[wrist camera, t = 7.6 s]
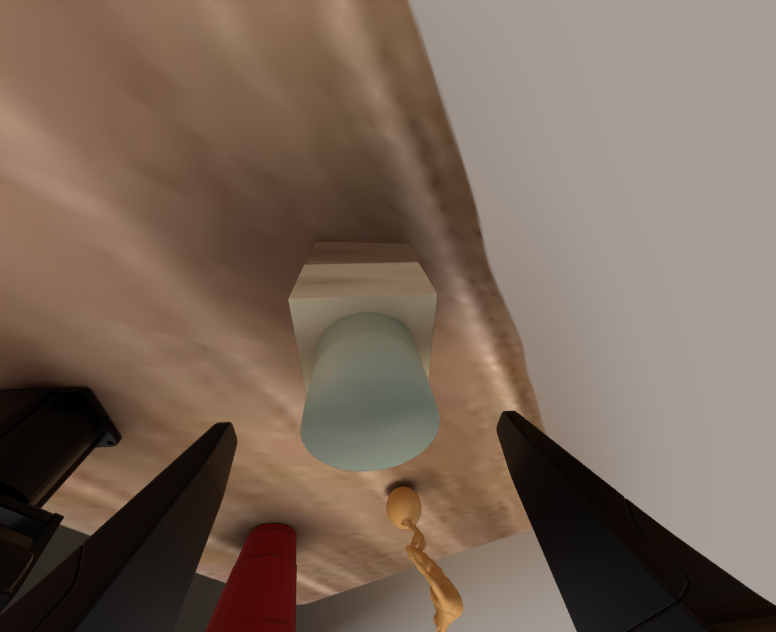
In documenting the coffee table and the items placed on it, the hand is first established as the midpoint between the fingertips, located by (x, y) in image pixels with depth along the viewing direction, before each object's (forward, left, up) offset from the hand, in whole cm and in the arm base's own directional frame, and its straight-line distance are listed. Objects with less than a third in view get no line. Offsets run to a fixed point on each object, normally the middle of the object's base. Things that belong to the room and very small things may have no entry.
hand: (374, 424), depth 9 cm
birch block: (0, 0, -8) cm, 8 cm away
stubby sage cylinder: (0, 0, -4) cm, 4 cm away
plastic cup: (-35, +11, -12) cm, 39 cm away
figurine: (-26, -6, -12) cm, 29 cm away
